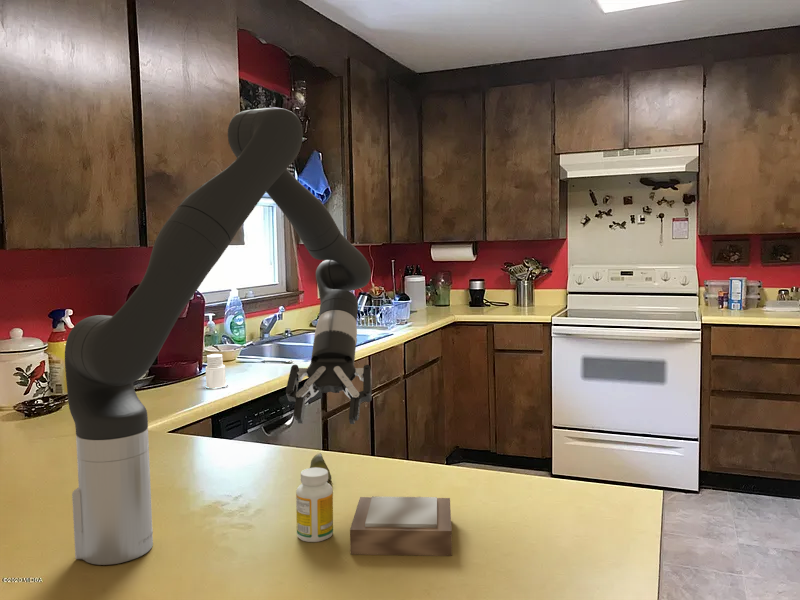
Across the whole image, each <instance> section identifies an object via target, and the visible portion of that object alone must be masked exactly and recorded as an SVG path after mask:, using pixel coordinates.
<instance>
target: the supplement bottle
mask: <svg viewBox="0 0 800 600" xmlns="http://www.w3.org/2000/svg"><path fill="white" fill-rule="evenodd" d="M300 482H301V484H299V485H298V487H297V488H296V491H295V496H296V497H295V500H296V509H295V510H296V536H297V538H299V539H300V540H301V541H303V542H307V543H318V542H319V543H320V542H323V541H325V540H328V539H330V538H331V537H332V535H333V534H334V502H333V501H334V492H333V490H334V489H333V487H332V485H331V484H330V483H328V482H329V481H328V471H327V470H326V469H324V468H317V467H315V468H310V467H309V468H305V469H303V470H301V472H300Z"/></svg>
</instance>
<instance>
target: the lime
mask: <svg viewBox="0 0 800 600" xmlns="http://www.w3.org/2000/svg"><path fill="white" fill-rule="evenodd" d="M323 457H324V456H323V455H322V453H321V452H320V453H317V454H315V455H314V456H313V457H312V459H311V460H310V466H309V468H315V467H317V468H324V469H326V470H327V471H328V481H327V482H329V481H332V475H331V472H330V469H329V467H328V465H327V463H326V461H325V459H324V458H323Z"/></svg>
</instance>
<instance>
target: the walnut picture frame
mask: <svg viewBox="0 0 800 600" xmlns="http://www.w3.org/2000/svg"><path fill="white" fill-rule="evenodd" d="M452 536H453V533H452V513H451V498H450V497H437V496H360V497H359V499H358V503H357V506H356V509H355V513H354V516H353V519H352V523H351V525H350V529H349V547H350V548H349V552H350V555H375V556H377V555H378V556H380V555H381V556H383V555H384V556H436V557H437V556H440V557H442V556H443V557H444V556H446V557H450V556H453V552H452V551H453V550H452V548H453V543H452V542H453V541H452V538H453V537H452Z"/></svg>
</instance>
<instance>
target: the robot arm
mask: <svg viewBox="0 0 800 600" xmlns="http://www.w3.org/2000/svg"><path fill="white" fill-rule="evenodd" d="M303 132H304V130H303V126H302V122H301V120H300V119H299V117H298V116H297V115H296V114H295V113H294V112H292V111H291V110H289V109H286V108H283V107H282V108H281V107H263V108H255V109H247V110H243V111H240V112H238V113H236V114H235V115H234V116H233V117H232V118H231V120H230V122H229V123H228V129H227V140H228V144H229V147H230V149H231V151H232V153H233V154H234V156H235V157H236V158H235V160H234V161H232V163H231V164H230V165H229V166H228V167H226V168H225V169H224V170H222V171H220V172H219V173H218V174H217V175H215V176H213V177H212V178H210V179H209V180H208V181H206V182H204V183H203V184H202V185H200V186H199V187H197V188H196V189H195V190H194V191H192V192H191V193H190V194H189V195H188V196H186V197H185V198H184V199H183V200H182V202H181V203H180V204H178V206H177V207H176V209H175V210H174V211H173V213H172V214H171V215H170V217H169V218H168V219H167V220H166V222H165V223H164V224H163V226H162V227H161V229H160V231H159V232H158V234H157V236H156V238H155V241H154V244H153V247H152V251H151V252H150V253H151V254H150V257H149V261H148V266H147V268H146V271H145V273H144V276H143V278H142V280H141V282H140V283H139V284H138V286H137V288H136V289H135V290H134V292H133V293H132V294H131V295H130V296H129V298H128V299H127V301H125V303H124V304H123V305H122V306H121V307H120V308H119V309H118V311H116V313H115V314H114V315H104V314H100V315H99V314H98V315H92V316H88V317H86V318H83V319H82V320H80V321H78V322H77V323H76V324H75V325H74V326H73V327H72V328H71V330H70V332H69V333H68V335H67V338H66V341H65V348H64V369H65V382H66V390H67V391H66V392H67V401H68V408H69V412H70V415H71V417H72V419H73V422H74V425H75V426H74V427H75V428H74V429H75V443H76V459H77V462H76V463H77V479H78V483H77V484H78V487H77V488H75V489H74V490H72V494H71V495H72V497H71V498H72V500H71V501H72V513H73V514H72V515H73V516H72V518H73V535H74V537H73V538H74V555H75V560H83V561H85V562H86V563H89V564H92V565H98V566H101V565H103V566H105V565H106V566H107V565H116V564H121V563H125V562H129V561H133V560H135V559H139V558H140V557H142V556H143V555H145V554H147V553H148V552H150V550H152V547H153V545H154V542H153V541H154V539H153V533H154V531H153V530H154V529H153V516H152V515H153V514H152V513H153V512H152V510H153V509H152V492H151V491H152V489H151V470H150V469H151V468H150V466H151V465H150V464H151V463H150V449H149V448H150V445H149V418H148V417H149V416H148V412H147V411H148V410H147V408H146V406H145V405H144V404H143V402H142V401H141V400H140V399H139V397H138V395H137V393H136V391H135V386H134V383H135V382H136V381H138V380H139V379H141V378H142V377H143V376H144V375H145V374H146V373H147V372H148V371H149V369H150V368H151V367H152V365H153V363H154V362H155V360H156V359H157V357H158V355H159V353H160V351H161V350H162V348H163V345H164V344H165V342H166V340H167V339H168V337H169V335H170V334H171V331H172V329H173V328H174V326H175V324H176V323H177V321H178V319H179V317H180V315H181V313H182V312H183V311H184V309H185V307H186V306H187V304H188V303H189V302H190V300H191V299H192V297H193V296H194V295H195V294H196V292H197V291H198V289H199V288H200V286H201V285H202V283H203V282H204V280H205V279H206V277H207V276H208V274H209V273H210V271H211V270H212V269H213V268H214V266H216V264H217V262H218V261H219V260H220V258H221V257H222V255H224V253H225V252H226V250H227V248H228V247H229V245H230V244H231V243H232V240H233V239H234V237H235V236H236V234H237V233H238V231H239V230H240V229H241V227H242V225H244V223H245V222H246V220H247V219H248V217H249V216H251V215H250V214H252V212H253V211H254V209H255V208H256V207H257V205H258V204H259V203H260V201H261V199H262V198H263V196H264V195H265V194H267V195H268V196H269V197H270V198H271V200H272V202H274V203H275V204H276V206H277V207H278V208H279V209H280V211H281V212H282V213H283V214H284V216H285V217H286V219H287V220H288V221H289V223H290V224H291V226H292V227H293V229H294V230H295V232H296V234H297V235H298V237H299V239H300V241H301V242H302V244H303V245H304V247H305V249H306V250H307V251H308V254H309V255H310V256H311V257H312V258H313V259H316V260H319V261H322V262H320V263H319V265H318V266H317V267H316V270H315V279H316V284H317V288H318V292H319V293H318V294H319V301H320V306H319V313H318V319H317V324H316V326H315V331H314V337H313V344H312V350H311V359H310V363H309V366H307V368H306V367H299V366H298V365H297V364H293V365H291V367H290V372H289V375H288V379H287V384H286V388H285V393H286V394H285V395H286V396H287V400H288V402H290V403H291V402H294V408H293V415H294V419H295V421H297V423H298V424H303V423H304V418H305V412H306V411H305V410H306V403H307V402H308V400H310V399H311V398H313V397H315V396H316V395H317V394H318V393H319V392H320V393H322V394H327V393H335V394H339V393H340V392H343V393H344V395H346V397H347V398H349V400H350V401H349V412H348V420H349V424H350V425H355V423H356V422H357V421H358V420H359V419H360V410H361V409H360V408H361V404H362V403H369V402H371V401H372V398H373V397H372V396H373V395H372V393H373V392H372V389H373V387H372V385H373V384H372V380H373V378H372V376H373V375H372V368H371V366H370V365H369V364H364V365H363V367H355V359H356V357H355V356H356V348H357V346H356V345H357V343H358V337H357V336H358V326H357V322H358V311H359V302H358V301H359V300H358V298H357V296H356V294H354V293H353V292H351V291H355V290H360V289H362V288H364V287H366V286H367V285H368V284H369V283H370V280H371V277H372V275H371V274H372V273H371V267H370V264H369V261H368V260H367V258H366V257H365V256H364V254H363V253H362V252H361V251H360V250H359V249H357V248H356V247H355V246H354V245H353V244H352V243H351V241H349V239H347V238H346V237H345V236H344V235H343V234H342V233H341V231H340V229H339V227H338V225H337V223H336V221H335V220H334V218H333V216H332V215H331V213H330V211H329V210H328V208H327V207H326V206H325V205H324V203H322V201H321V200H320V199H319V198H317V197H316V196H315V194H313V193H312V192H311V191H310V190H309V189H308V188H307V187H306V186H304V185H303V184H302V183H301V182H300V181H299V180H298V179H296V178H295V176H294V175H293V174H292V173H291V172H290V171H289V169H288V168H289V167H290V166H291V164H292V163H293V162H294V160H296V158H297V156H298V155H299V153H300V150H301V147H302V144H303V140H304V139H303V138H304V137H303V136H304V133H303ZM306 376H307V378H308V379H307V380H306V381H305V382H303V383H304V384H303V386H302V387H300V388H299V383H300V382H302V381H303V379H304V377H306ZM356 377H358V378H359V381H362V383H363V390H361V391H358V389H357V388H356V387H355V386H354V384H353V381H354V379H355V378H356ZM298 388H299V390H298Z"/></svg>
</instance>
